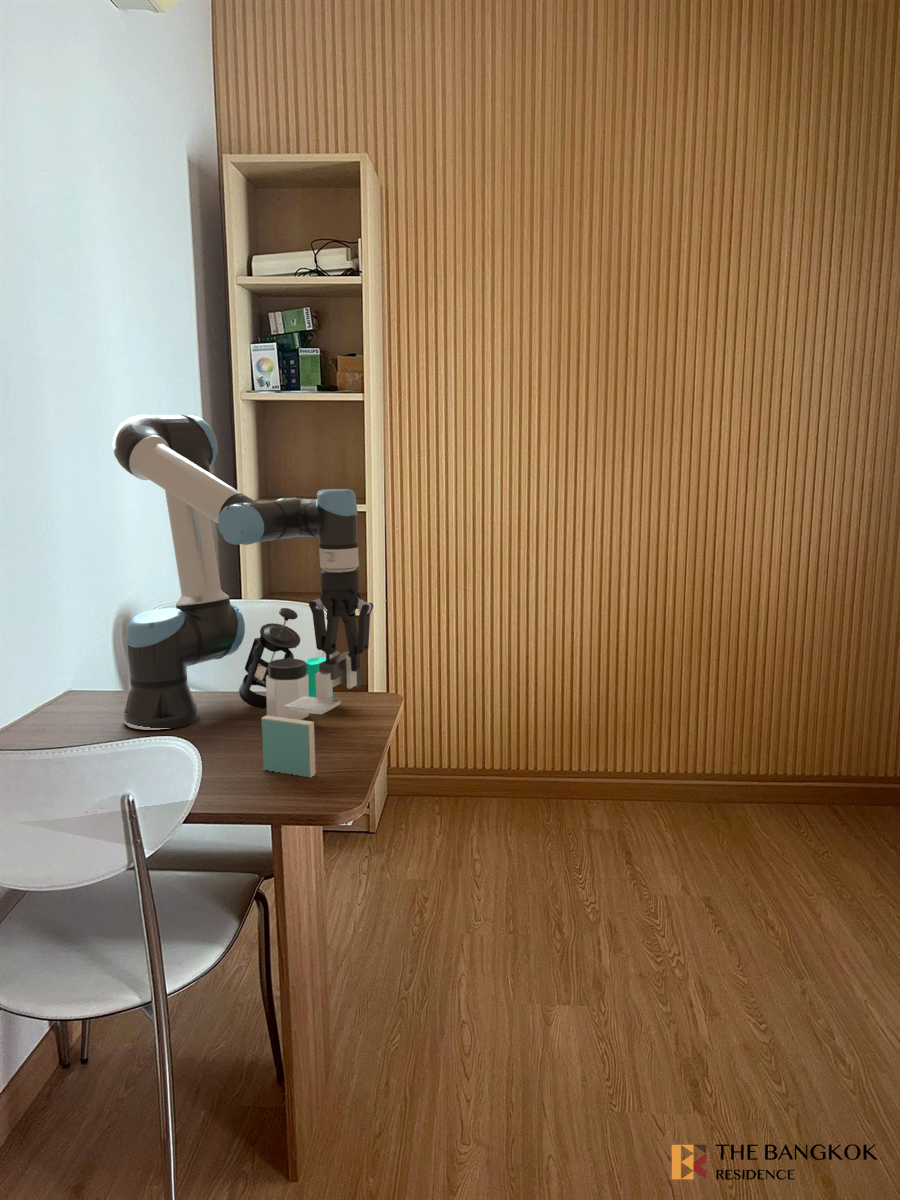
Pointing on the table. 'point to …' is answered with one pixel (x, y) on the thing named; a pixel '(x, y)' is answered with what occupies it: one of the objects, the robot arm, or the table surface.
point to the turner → (324, 687)
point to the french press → (257, 668)
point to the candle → (312, 669)
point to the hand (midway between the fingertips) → (343, 685)
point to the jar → (286, 687)
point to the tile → (288, 746)
